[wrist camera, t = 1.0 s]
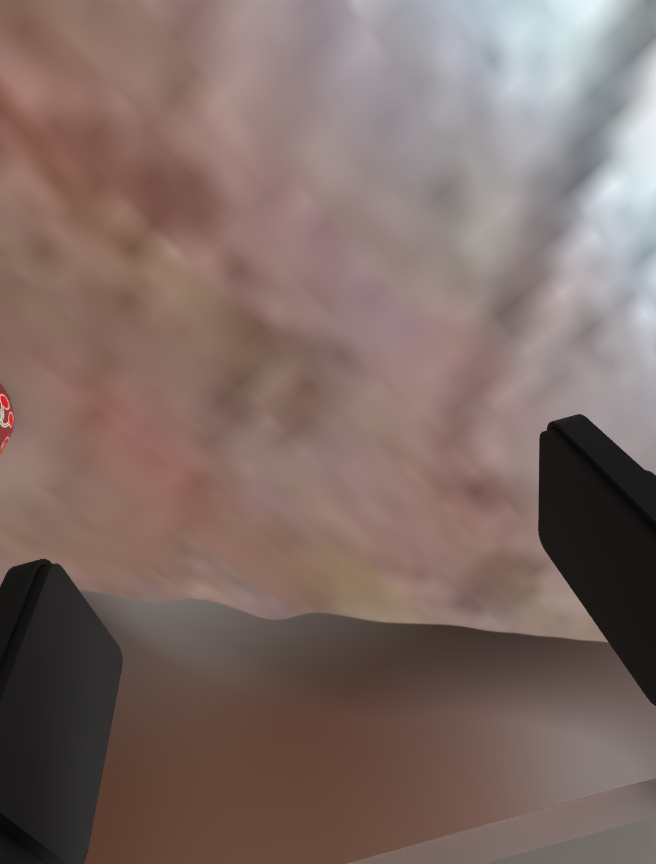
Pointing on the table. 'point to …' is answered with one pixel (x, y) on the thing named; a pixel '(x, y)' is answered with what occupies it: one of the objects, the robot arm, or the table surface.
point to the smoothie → (5, 419)
